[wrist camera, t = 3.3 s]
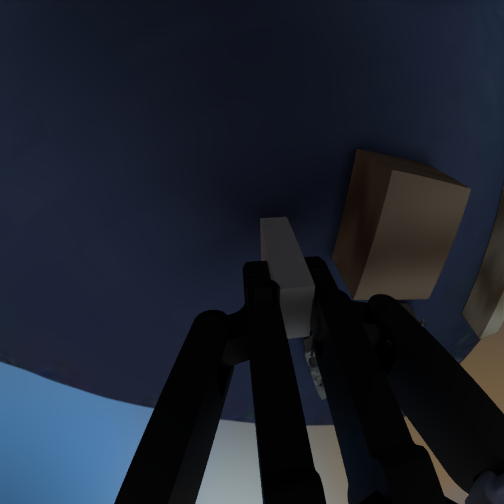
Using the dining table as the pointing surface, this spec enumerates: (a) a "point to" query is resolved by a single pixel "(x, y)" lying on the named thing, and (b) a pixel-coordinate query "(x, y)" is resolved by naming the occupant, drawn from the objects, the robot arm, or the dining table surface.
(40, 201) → the dining table surface
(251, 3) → the dining table surface
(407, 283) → the block
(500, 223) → the board
